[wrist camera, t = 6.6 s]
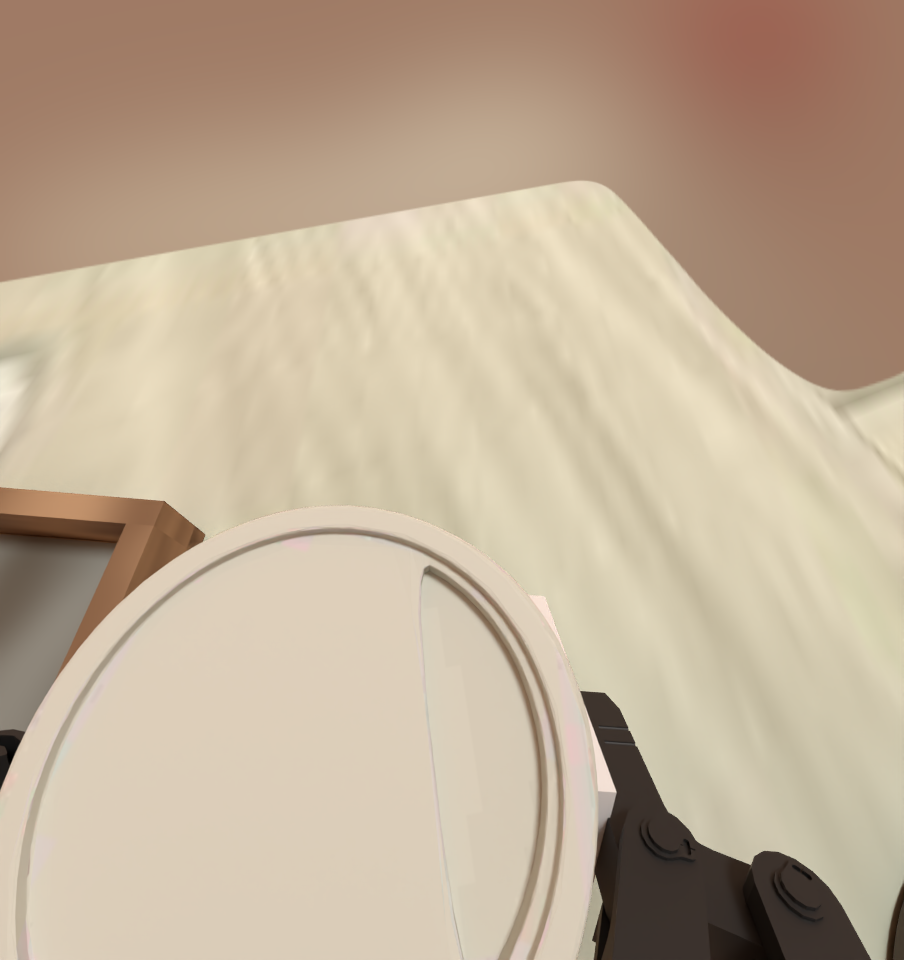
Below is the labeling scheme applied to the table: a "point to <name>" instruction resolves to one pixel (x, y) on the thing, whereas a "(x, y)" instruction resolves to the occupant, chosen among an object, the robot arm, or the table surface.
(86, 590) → the wood rimmed frame
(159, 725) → the coffee cup
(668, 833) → the robot arm
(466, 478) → the table surface
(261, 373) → the table surface
